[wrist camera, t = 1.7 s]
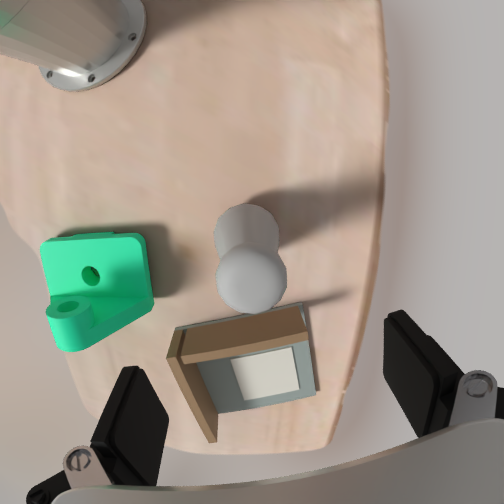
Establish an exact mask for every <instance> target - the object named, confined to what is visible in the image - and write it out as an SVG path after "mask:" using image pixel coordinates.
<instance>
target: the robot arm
mask: <svg viewBox="0 0 504 504" xmlns="http://www.w3.org/2000/svg"><path fill="white" fill-rule="evenodd" d="M146 23H147V21H146V11H145V8H144V5H143V3H142V2H141V0H0V54H1V55H5V56H8V57H11V58H15V59H18V60H21V61H25V62H28V63H31V64H34V65H37V66H38V67H39V70H40V72H41V75H42V76H43V78H44V79H45V80H46V82H47V83H49V84H50V85H52V86H53V87H55V88H58V89H60V90H64V91H69V92H79V91H84V90H89V89H92V88H94V87H97V86H99V85H101V84H103V83H105V82H106V81H108V80H110V79H111V78H112V77H114V76H115V75H116V74H118V73H119V72H120V71H121V70H122V69H123V68H124V67H125V66H126V65H127V64H128V63H129V61H130V60H131V59H132V57H133V56H134V55H135V53H136V52H137V50H138V48H139V46H140V44H141V42H142V39H143V37H144V34H145V29H146ZM134 38H136V39H135V40H133V39H134ZM94 78H95V80H94ZM93 80H94V81H93ZM383 374H384V378H385V380H386V381H387V383H388V385H389V387H390V389H391V390H392V392H393V394H394V395H395V397H396V399H397V401H398V403H399V404H400V406H401V408H402V410H403V411H404V413H405V415H406V417H407V418H408V420H409V422H410V424H411V426H412V428H413V429H414V431H415V433H416V435H417V437H418V439H415V440H413V441H410V442H407V443H405V444H402V445H399V446H396V447H394V448H391V449H388V450H385V451H382V452H379V453H376V454H373V455H370V456H367V457H364V458H360V459H357V460H353V461H350V462H346V463H343V464H339V465H336V466H331V467H327V468H323V469H319V470H314V471H310V472H305V473H300V474H295V475H290V476H284V477H279V478H272V479H266V480H259V481H251V482H243V483H233V484H222V485H207V486H182V487H181V486H173V487H171V486H165V487H164V486H156V484H157V479H158V474H159V468H160V464H161V458H162V453H163V448H164V443H165V439H166V434H167V429H168V424H169V417H168V414H167V412H166V410H165V409H164V407H163V405H162V403H161V401H160V400H159V398H158V396H157V394H156V392H155V390H154V389H153V387H152V385H151V383H150V381H149V379H148V377H147V375H146V373H145V371H144V370H143V369H140V368H139V367H138V366H128V367H123V369H122V370H121V373H120V375H119V377H118V379H117V381H116V383H115V386H114V388H113V390H112V392H111V395H110V397H109V399H108V401H107V404H106V406H105V408H104V410H103V413H102V415H101V417H100V420H99V422H98V425H97V427H96V429H95V431H94V434H93V436H92V439H91V445H90V447H88V446H77V447H75V448H73V449H71V450H70V451H69V452H68V453H67V454H66V455H65V457H64V459H63V468H64V470H63V471H61V472H59V473H57V474H56V475H54V476H52V477H51V478H49V479H47V480H45V481H43V482H41V483H40V484H38V485H36V486H34V487H33V488H31V490H30V491H29V492H28V494H27V497H26V503H27V504H504V388H500V387H497V381H496V379H495V378H494V377H493V376H492V375H491V374H490V373H488V372H486V371H481V370H475V371H471V372H468V373H467V374H464V373H463V372H462V371H461V369H460V368H459V367H458V366H457V365H456V364H455V362H453V360H452V359H451V358H450V357H449V356H448V354H447V353H446V352H445V351H444V350H443V349H442V348H441V347H440V346H439V345H438V343H437V342H436V341H435V340H434V339H433V338H432V337H431V336H429V335H426V334H425V333H424V332H423V331H422V330H421V328H420V327H419V326H418V325H417V324H416V323H415V322H414V321H413V320H412V319H411V318H410V317H409V315H408V314H407V313H406V312H405V311H404V310H398V311H395V312H392V313H389V314H388V318H386V319H384V360H383Z"/></svg>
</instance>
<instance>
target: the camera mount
mask: <svg viewBox="0 0 504 504" xmlns="http://www.w3.org/2000/svg"><path fill="white" fill-rule="evenodd" d="M40 254H41V259H42V263H43V268H44V272H45V276H46V281H47V285H48V288H49V292H50V300H51V304H50V305H49V306H48V307H47V309H46V315H47V318H48V321H49V324H50V327H51V330H52V333H53V336H54V339H55V342H56V345H57V347H58V348H59V349H61V350H63V351H66V352H76V351H81V350H84V349H86V348H88V347H90V346H92V345H94V344H95V343H97V342H99V341H100V340H102V339H104V338H106V337H107V336H109V335H111V334H112V333H114V332H116V331H117V330H119V329H121V328H123V327H124V326H126V325H128V324H129V323H131V322H133V321H135V320H136V319H138V318H140V317H141V316H143V315H145V314H147V313H148V312H150V311H151V310H152V308H153V306H154V299H153V292H152V286H151V279H150V272H149V265H148V258H147V250H146V242H145V239H144V238H143V236H142V235H140V234H138V233H121V234H114V232H100V233H84V234H75V235H73V236H71V237H56V238H50V239H49V240H47V241H45V242H44V243H42V244H41V246H40ZM91 267H94V268H95V269H96V270H97V271H98V273H99V275H100V277H99V276H96V275H95V274H94V273H93V271H92V269H91Z"/></svg>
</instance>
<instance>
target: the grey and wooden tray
mask: <svg viewBox="0 0 504 504" xmlns="http://www.w3.org/2000/svg"><path fill="white" fill-rule="evenodd" d="M308 340H309V338H308V331H307V329H306V323H305V317H304V311H303V305H302V302H299V303H294V304H290V305H286V306H281V307H277V308H272V309H270V310H267V311H263V312H260V313H256V314H250V313H249V314H245V315H240V316H235V317H230V318H225V319H220V320H215V321H210V322H205V323H199V324H194V325H188V326H183V327H177V328H175V330H174V334H173V337H172V340H171V344H170V347H169V350H168V354H167V357H166V359H167V362H168V364H169V366H170V368H171V370H172V372H173V374H174V377H175V379H176V381H177V383H178V385H179V387H180V389H181V391H182V393H183V395H184V397H185V399H186V401H187V403H188V405H189V407H190V409H191V411H192V413H193V414H194V416H195V418H196V420H197V422H198V424H199V426H200V428H201V429H202V431H203V433H204V435H205V437H206V438H207V440H208V442H209V443H215V442H217V430H218V414H220V413H227V412H234V411H240V410H246V409H252V408H258V407H263V406H269V405H274V404H279V403H284V402H288V401H293V400H297V399H302V398H306V397H310V396H314V395H316V390H315V383H314V376H313V369H312V362H311V355H310V349H309V342H308Z"/></svg>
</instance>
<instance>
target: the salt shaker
mask: <svg viewBox="0 0 504 504" xmlns="http://www.w3.org/2000/svg"><path fill="white" fill-rule="evenodd" d="M214 241H215V247H216V250H217V252H218V255H219V258H220V263H219V266H218V269H217V271H216V282H217V290H218V293H219V295H220V296H221V297H222V299H223V300H224V302H225V303H226V304H227V305H228V306H229V307H231V308H233V309H235V310H236V311H238V312H240V313H250V314H256V313H260V312H263V311H267V310H270V309H271V308H272V307H273V306H274V305H276V304H277V303H278V302H279V301H280V300H281V298H282V296H283V294H284V292H285V290H286V288H287V272H286V267H285V265H284V263H283V261H282V260H281V258H280V256H279V254H278V247H279V227H278V225H277V223H276V221H275V219H274V217H273V215H272V214H271V213H270V212H268V211H267V210H265V209H263V208H262V207H260V206H258V205H252V204H246V203H243V204H240V205H237V206H234V207H231V208H229V209H228V210H227V211H226V212H225V213H224V214H222V215H221V216H220V217H219V218H218V221H217V224H216V227H215V229H214Z"/></svg>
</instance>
